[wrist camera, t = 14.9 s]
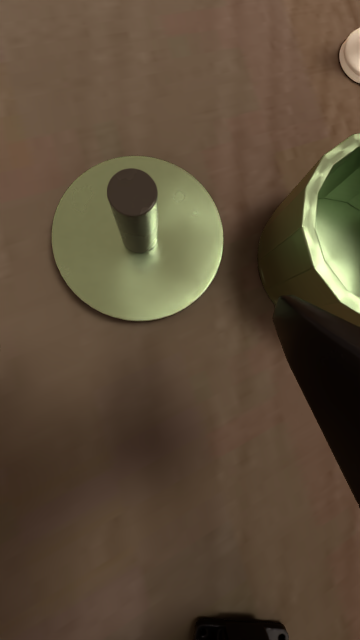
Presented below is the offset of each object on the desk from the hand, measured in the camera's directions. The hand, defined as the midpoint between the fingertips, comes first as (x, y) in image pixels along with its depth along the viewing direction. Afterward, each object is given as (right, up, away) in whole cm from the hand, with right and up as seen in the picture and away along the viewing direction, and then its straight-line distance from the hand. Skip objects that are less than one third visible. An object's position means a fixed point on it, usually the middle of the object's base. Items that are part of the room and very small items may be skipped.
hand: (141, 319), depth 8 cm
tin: (+13, +5, +13) cm, 19 cm away
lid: (-2, +6, +11) cm, 13 cm away
